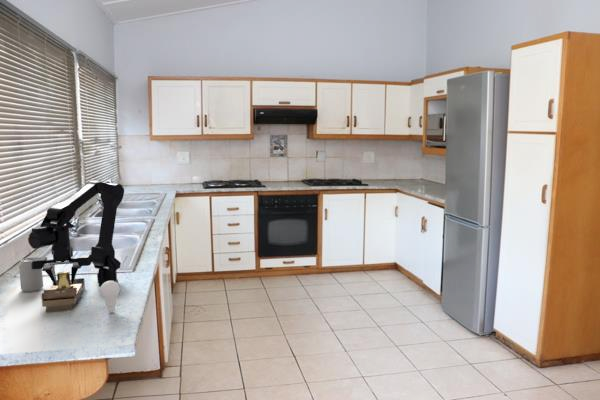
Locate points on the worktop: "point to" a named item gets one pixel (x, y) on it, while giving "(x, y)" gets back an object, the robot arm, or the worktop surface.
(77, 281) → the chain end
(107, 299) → the lightbulb
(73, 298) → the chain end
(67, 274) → the brass pin
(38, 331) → the worktop surface
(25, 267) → the can
